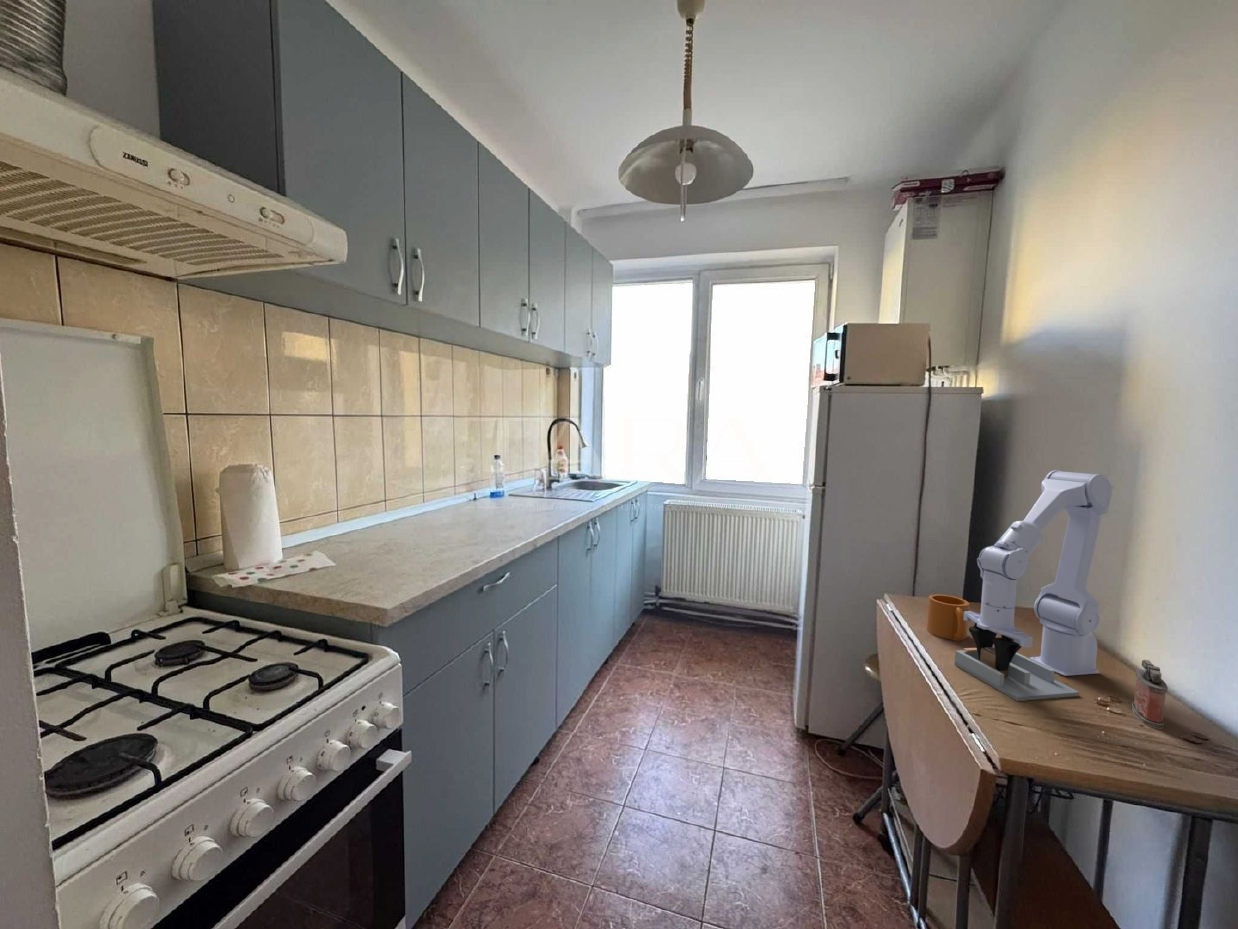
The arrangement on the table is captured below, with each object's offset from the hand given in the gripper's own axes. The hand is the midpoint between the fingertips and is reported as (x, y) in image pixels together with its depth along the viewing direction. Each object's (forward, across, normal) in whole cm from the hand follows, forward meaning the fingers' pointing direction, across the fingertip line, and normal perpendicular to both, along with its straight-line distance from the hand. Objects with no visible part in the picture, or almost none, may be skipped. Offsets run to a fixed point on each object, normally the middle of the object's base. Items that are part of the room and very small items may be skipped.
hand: (992, 665), depth 108 cm
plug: (+2, 0, 0) cm, 2 cm away
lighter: (+3, +17, +16) cm, 23 cm away
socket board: (+3, +1, +4) cm, 5 cm away
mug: (+3, -21, +8) cm, 22 cm away
